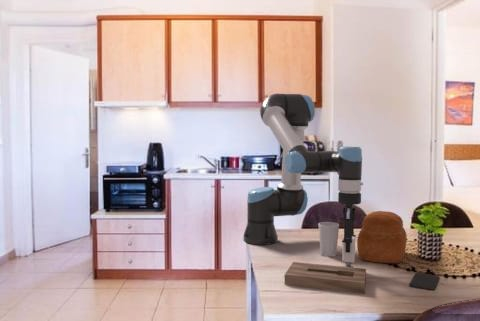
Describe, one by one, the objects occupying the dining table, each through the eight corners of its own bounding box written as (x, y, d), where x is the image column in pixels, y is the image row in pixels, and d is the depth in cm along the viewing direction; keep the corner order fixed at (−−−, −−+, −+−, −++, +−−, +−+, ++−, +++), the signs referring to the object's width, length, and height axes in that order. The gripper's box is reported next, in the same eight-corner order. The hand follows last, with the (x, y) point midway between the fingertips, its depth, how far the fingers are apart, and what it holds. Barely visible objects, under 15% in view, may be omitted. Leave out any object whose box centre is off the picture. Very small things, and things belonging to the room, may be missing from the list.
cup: (338, 257, 163) (339, 226, 162) (317, 256, 164) (318, 225, 164) (338, 252, 171) (338, 222, 170) (318, 250, 172) (318, 221, 171)
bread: (406, 251, 172) (407, 210, 171) (405, 266, 152) (406, 220, 151) (361, 247, 178) (362, 207, 177) (354, 261, 159) (355, 216, 158)
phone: (440, 275, 141) (434, 289, 128) (440, 278, 141) (434, 292, 128) (416, 272, 145) (408, 285, 132) (416, 274, 145) (408, 287, 132)
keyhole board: (293, 270, 147) (293, 261, 146) (365, 278, 139) (366, 268, 139) (284, 284, 133) (284, 274, 133) (364, 293, 126) (364, 282, 126)
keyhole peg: (342, 268, 149) (343, 235, 148) (354, 269, 148) (355, 236, 147) (341, 272, 145) (342, 238, 145) (353, 273, 144) (354, 239, 143)
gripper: (359, 196, 135) (358, 267, 136) (362, 189, 153) (361, 252, 154) (335, 194, 137) (334, 265, 139) (340, 188, 155) (339, 250, 156)
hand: (348, 258), depth 146 cm, fingers open, 6 cm apart
